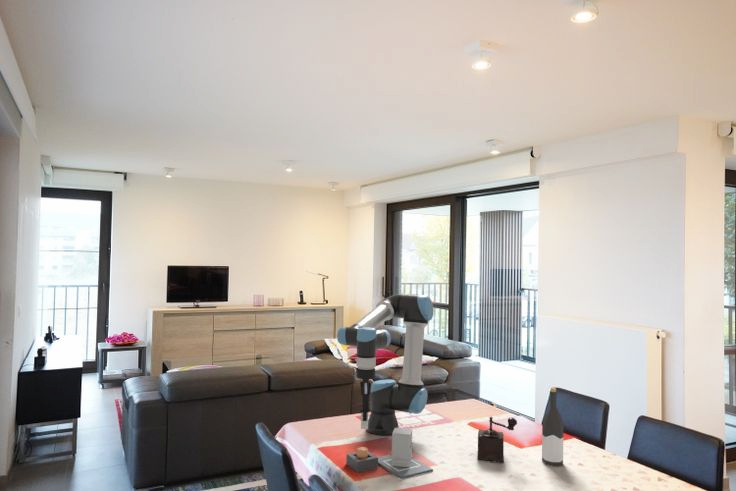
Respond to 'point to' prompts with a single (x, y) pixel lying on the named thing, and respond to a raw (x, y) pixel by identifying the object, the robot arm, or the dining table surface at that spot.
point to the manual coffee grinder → (493, 442)
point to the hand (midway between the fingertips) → (364, 428)
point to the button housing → (362, 462)
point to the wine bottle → (552, 434)
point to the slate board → (403, 472)
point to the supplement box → (401, 447)
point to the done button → (362, 453)
